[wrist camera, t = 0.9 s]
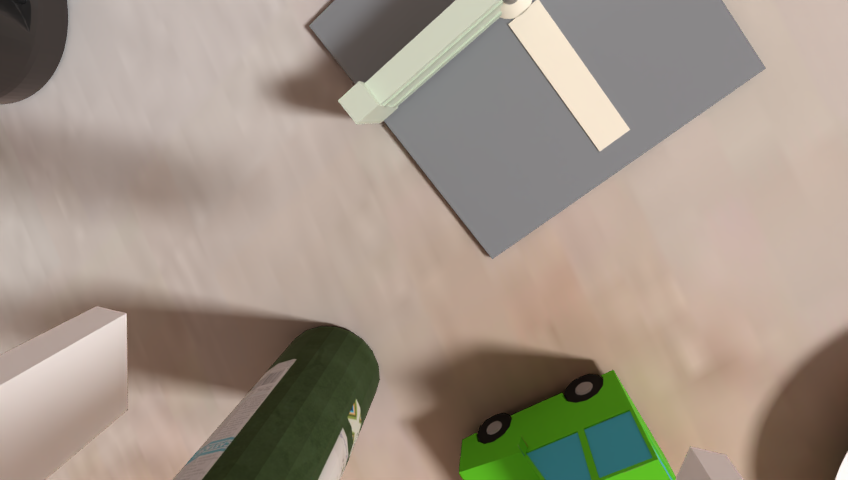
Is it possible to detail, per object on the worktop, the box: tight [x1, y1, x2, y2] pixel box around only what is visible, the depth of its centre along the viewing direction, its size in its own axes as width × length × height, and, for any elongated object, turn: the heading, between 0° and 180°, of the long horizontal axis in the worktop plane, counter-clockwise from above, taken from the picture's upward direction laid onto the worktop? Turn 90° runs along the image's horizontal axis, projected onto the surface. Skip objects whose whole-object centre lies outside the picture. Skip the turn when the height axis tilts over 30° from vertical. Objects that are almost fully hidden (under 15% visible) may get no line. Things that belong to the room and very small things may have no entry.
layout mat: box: [309, 0, 766, 259], centre depth 28 cm, size 20×20×1 cm
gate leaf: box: [338, 0, 503, 124], centre depth 26 cm, size 10×2×6 cm, turn 129°
